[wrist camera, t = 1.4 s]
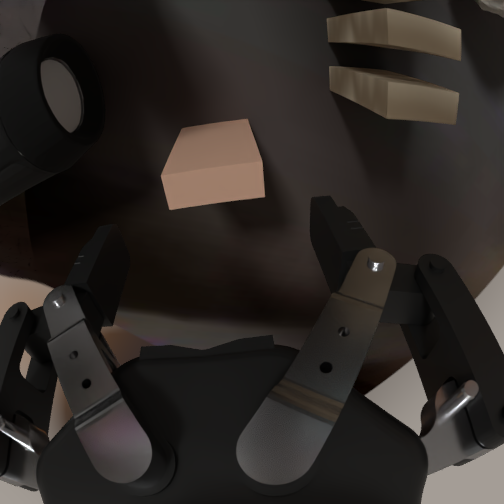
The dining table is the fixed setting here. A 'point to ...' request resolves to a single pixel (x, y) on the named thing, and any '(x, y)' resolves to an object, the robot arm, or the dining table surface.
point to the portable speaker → (46, 111)
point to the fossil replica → (492, 6)
